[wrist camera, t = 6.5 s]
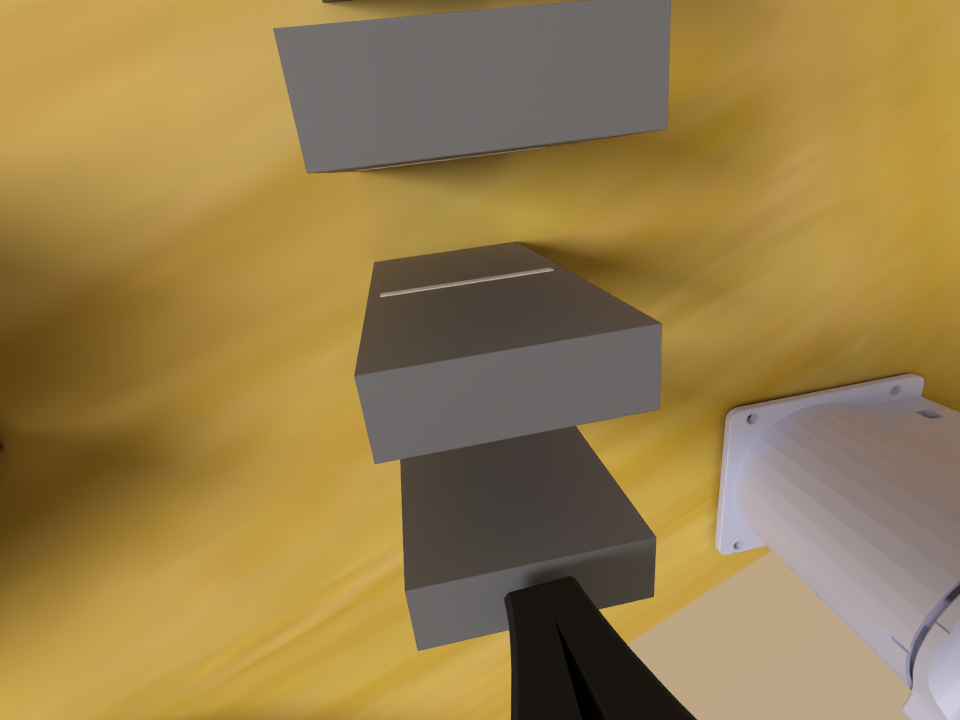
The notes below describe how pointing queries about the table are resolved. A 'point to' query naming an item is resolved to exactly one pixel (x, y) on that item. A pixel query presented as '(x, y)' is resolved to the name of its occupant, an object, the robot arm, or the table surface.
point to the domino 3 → (515, 532)
